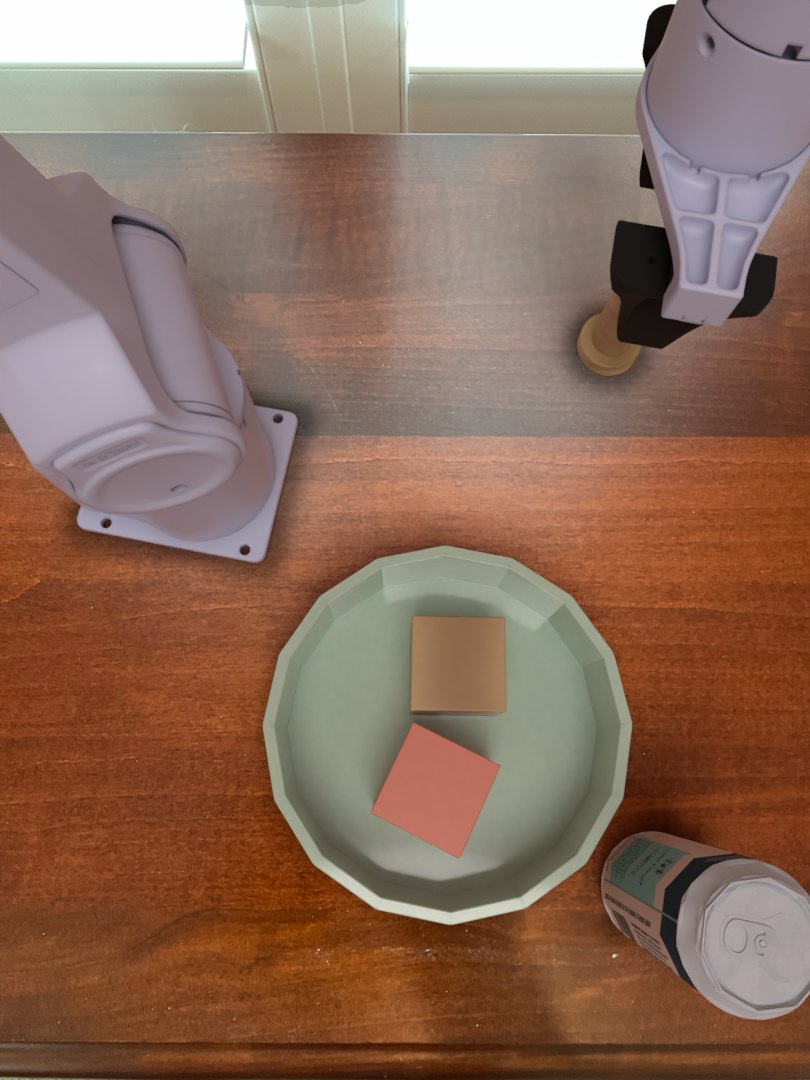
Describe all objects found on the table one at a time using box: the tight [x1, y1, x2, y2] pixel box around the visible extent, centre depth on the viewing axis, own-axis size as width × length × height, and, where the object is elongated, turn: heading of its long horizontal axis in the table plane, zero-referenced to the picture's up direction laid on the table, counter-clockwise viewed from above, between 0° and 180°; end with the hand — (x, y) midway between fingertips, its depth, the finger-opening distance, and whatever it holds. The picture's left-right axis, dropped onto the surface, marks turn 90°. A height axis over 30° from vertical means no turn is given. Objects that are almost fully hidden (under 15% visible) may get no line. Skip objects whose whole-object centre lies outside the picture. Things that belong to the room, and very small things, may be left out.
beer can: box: [600, 830, 810, 1021], centre depth 32 cm, size 5×5×12 cm
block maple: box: [409, 615, 506, 717], centre depth 37 cm, size 4×4×4 cm
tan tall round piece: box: [576, 289, 642, 377], centre depth 40 cm, size 3×3×8 cm
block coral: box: [371, 722, 500, 858], centre depth 36 cm, size 4×4×4 cm
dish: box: [261, 544, 633, 926], centre depth 37 cm, size 15×15×5 cm
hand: (652, 259), depth 36 cm, fingers open, 7 cm apart
